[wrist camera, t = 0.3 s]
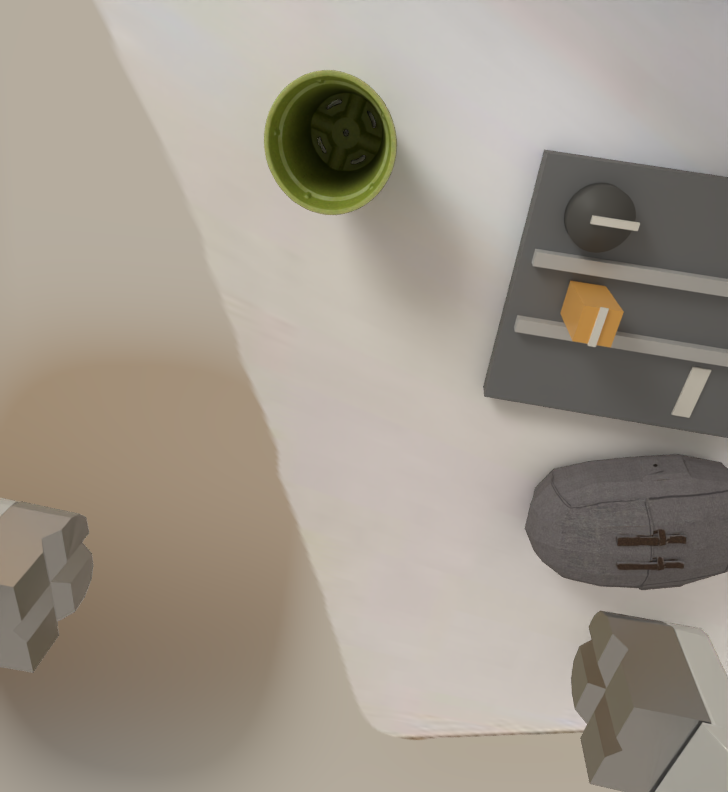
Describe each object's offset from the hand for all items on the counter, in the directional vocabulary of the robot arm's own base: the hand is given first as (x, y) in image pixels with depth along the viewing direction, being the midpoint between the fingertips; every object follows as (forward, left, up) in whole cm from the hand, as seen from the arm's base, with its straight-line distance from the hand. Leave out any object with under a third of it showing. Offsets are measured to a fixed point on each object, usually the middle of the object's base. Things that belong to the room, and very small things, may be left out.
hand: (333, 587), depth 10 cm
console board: (+9, +23, -46) cm, 53 cm away
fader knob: (+9, +15, -44) cm, 47 cm away
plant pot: (-1, -7, -47) cm, 47 cm away
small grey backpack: (+31, +26, -47) cm, 62 cm away
